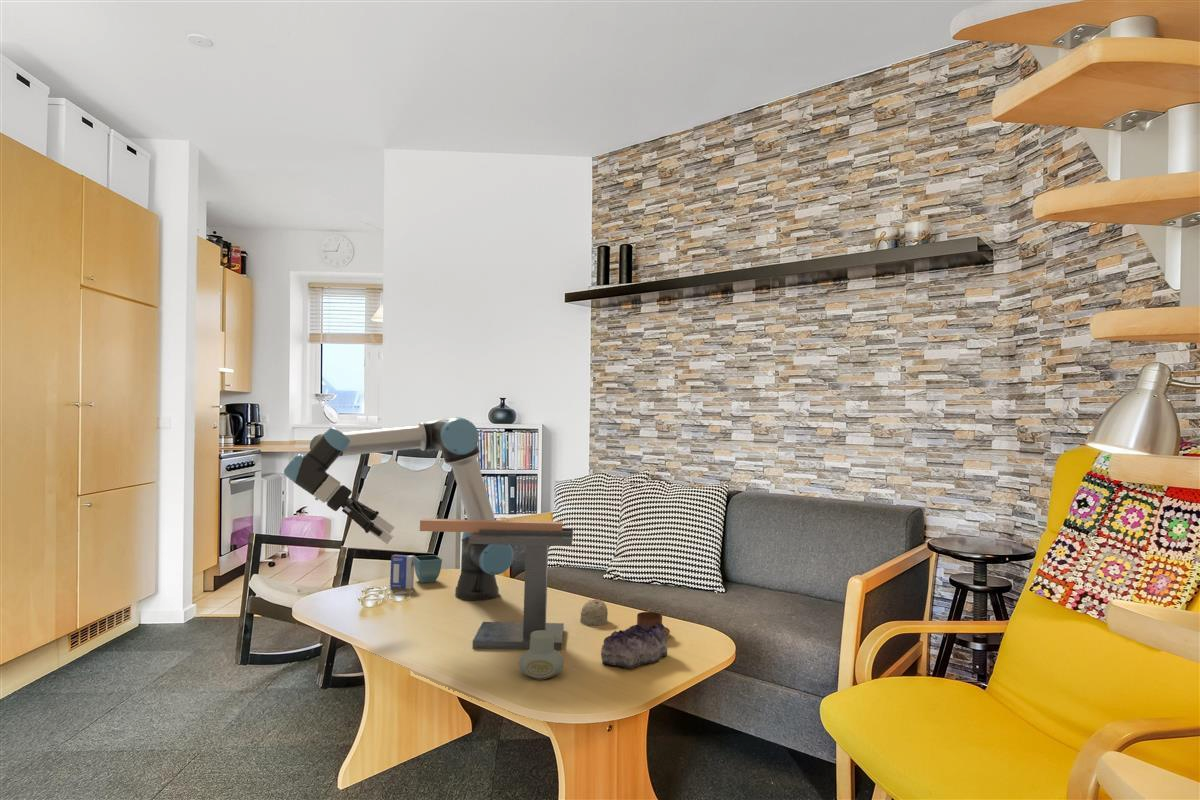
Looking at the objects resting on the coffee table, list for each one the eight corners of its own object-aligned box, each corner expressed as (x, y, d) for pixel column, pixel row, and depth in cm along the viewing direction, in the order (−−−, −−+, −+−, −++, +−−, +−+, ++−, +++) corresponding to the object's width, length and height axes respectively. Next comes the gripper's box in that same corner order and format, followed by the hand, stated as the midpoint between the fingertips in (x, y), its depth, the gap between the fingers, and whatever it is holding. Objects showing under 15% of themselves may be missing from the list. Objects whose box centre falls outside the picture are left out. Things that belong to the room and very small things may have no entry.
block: (419, 531, 191) (420, 520, 191) (423, 528, 195) (423, 518, 195) (561, 534, 192) (561, 523, 192) (562, 532, 196) (562, 521, 196)
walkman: (389, 588, 246) (391, 555, 247) (392, 586, 249) (394, 553, 250) (411, 589, 246) (412, 556, 246) (413, 587, 248) (414, 554, 249)
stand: (465, 648, 183) (469, 532, 184) (475, 628, 201) (479, 523, 202) (568, 650, 184) (571, 535, 185) (570, 630, 202) (573, 525, 203)
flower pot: (441, 582, 257) (442, 558, 258) (418, 584, 253) (419, 560, 253) (435, 578, 265) (435, 554, 265) (412, 580, 260) (413, 556, 261)
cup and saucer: (677, 635, 200) (677, 614, 200) (656, 645, 190) (657, 623, 190) (642, 627, 207) (642, 607, 207) (620, 637, 197) (621, 615, 197)
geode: (644, 646, 189) (649, 611, 189) (675, 663, 181) (681, 626, 181) (591, 659, 175) (597, 621, 175) (622, 678, 167) (628, 638, 167)
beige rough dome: (608, 635, 210) (615, 606, 215) (598, 624, 204) (606, 595, 209) (583, 630, 214) (591, 602, 219) (573, 620, 207) (581, 591, 212)
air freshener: (564, 669, 169) (565, 628, 170) (562, 681, 161) (563, 639, 162) (520, 668, 169) (521, 627, 170) (516, 680, 161) (517, 638, 162)
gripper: (330, 497, 215) (385, 536, 220) (319, 511, 191) (380, 555, 195) (346, 478, 216) (400, 517, 221) (337, 490, 192) (398, 534, 197)
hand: (391, 535), depth 208 cm, fingers open, 13 cm apart
